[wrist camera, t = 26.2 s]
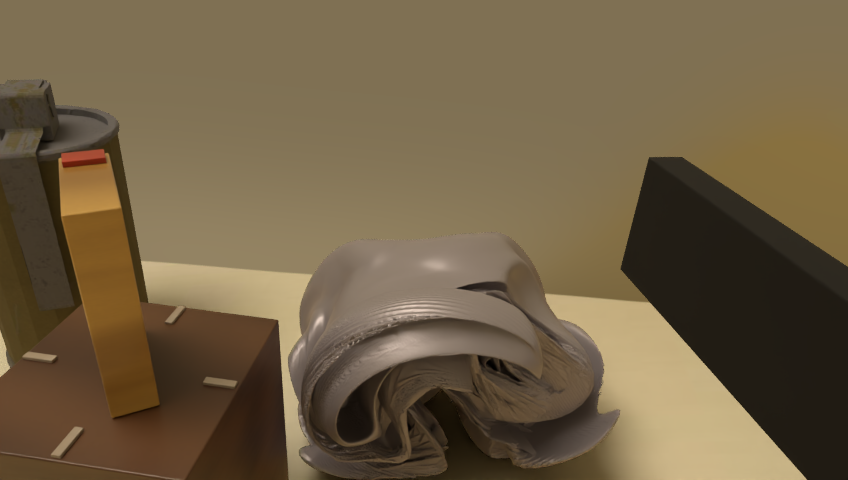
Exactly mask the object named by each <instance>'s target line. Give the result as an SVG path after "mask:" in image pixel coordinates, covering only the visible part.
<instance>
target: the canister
mask: <svg viewBox="0 0 848 480" xmlns="http://www.w3.org/2000/svg"><path fill="white" fill-rule="evenodd" d="M118 132H119V123H118V121H117V120H116V119H115V118H114V117H113V116H112V115H110V114H109V113H106V112H103V111H100V110H98V109H91V108H83V107H75V106H66V105H55V103H54V98H53V94H52V90H51V85H50V83H47V81H46V80H11V81H10V80H8V81H7V82H6V83H5V84H0V330H1V333H2V336H3V339H4V342H5V345H6V348H7V350H6V356H7V361H8V364H9V366H10V367H13V366H14V365H15V364H16V363H17V362H18V361H19V360H20V359H21V358H23V357H22V356H23V355H24V354H26V353H27V352H29V351H30V350H31V349H33V348H34V347H35V346H36V345H37V344H38V343H39V342H40V341H41V340H43V339H44V338H45V337H46V336H47V335H48V334H49V333H50V332H51V331H53V330H54V329H55V328H56V327H57V326H58V325H59V324H60V323H61V322H63V321H64V320H65V319H66V318H67V317H68V316H69V315H70V314H72V313H73V312H74V311H75V310H76V309H77V308H78V307H79V306H80V305H82V304H83V303H82V299H81V295H80V291H79V287H78V283H77V279H76V275H75V271H74V267H73V263H72V259H71V255H70V251H69V247H68V243H67V239H66V235H65V231H64V227H63V223H62V219H61V207H60V185H59V163H58V159H59V158H61V153H70V152H80V151H90V150H99V149H104V152H105V153H108V154H109V156H110V160H111V165H112V169H113V173H114V178H115V182H116V186H117V190H118V195H119V199H120V203H121V208H122V213H123V218H124V223H125V228H126V233H127V238H128V243H129V248H130V253H131V259H132V264H133V269H134V274H135V279H136V284H137V289H138V294H139V299H140V302H145V303H148V298H147V292H146V287H145V281H144V276H143V270H142V265H141V259H140V254H139V248H138V243H137V238H136V232H135V227H134V222H133V216H132V210H131V205H130V199H129V194H128V188H127V183H126V177H125V172H124V167H123V161H122V156H121V151H120V145H119V139H118Z"/></svg>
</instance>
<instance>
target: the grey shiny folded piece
mask: <svg viewBox="0 0 848 480" xmlns="http://www.w3.org/2000/svg"><path fill="white" fill-rule="evenodd" d="M300 328H301V334H302V336H301V337H300V338H299V340H298V341H297V342H296V344H295V345H294V347H293V348H292V350H291V352H290V354H289V356H288V366H289V372H290V377H291V381H292V384H293V388H294V391H295V393H296V396H297V399H298V401H299V405H298V416H299V422H300V426H301V429H302V431H303V433H304V435H305V437H306V438H307V440H308V441H309V443H310V446H305V447H303V448H301V449H300V451H299V455H300V457H301V458H302V459H303V461H304V462H305V463H307V464H308V465H309V466H311V467H313V468H315V469H317V470H319V471H322V472H324V473H327V474H330V475H335V476H338V477H343V478H348V479H358V480H359V479H366V480H367V479H369V480H372V479H384V478H387V479H391V478H398V479H401V478H409V477H410V479H412V478H415V477H416V476H420V477H421V476H422V477H423V476H424V477H425V476H426V477H428V476H429V475H431V476H432V475H437V474H439V473H441V472H443V471H445V470H446V469H447V467H448V465H447V462H446V459H445V455H444V451H446V450H447V448H448V446H445V445H446V444H447V439H446V437H445V434H444V431H443V430H442V428H441V427H440V425H439V423H438V421H437V420H436V418H435V417H434V416H433V415H432V413H431V412H430V411H429V410H428V409H427V408H426V407H425V405H424V404H423V403H425V402H427V401H428V400H430V399H431V398H432V397H434V396H435V395H436V394H437V393H438V392H439V391H440V390H441V389H442V390H443V391H444V392H445V393H446V394H447V395H448V397H449V399H450V400H451V403H453V402H454V403H455V405H456V410H457V412H458V415H459V417H460V420H461V423H462V424H463V426H464V428H465V430H466V432H467V433H468V435H469V436H470V438H471V440H472V441H473V442H474V443H475V445H476V446H477V447H478V448H479V449H480V450H481V451H482V452H484V453H485V454H486V455H488V456H490V457H492V458H496V459H498V458H510V459H511V461H512V464H513V465H516V466H520V467H522V468H533V469H535V468H540V467H542V468H543V467H547V466H552V465H555V464H559V463H562V462H566V461H569V460H571V459H574V458H576V457H579V456H581V455H583V454H585V453H587V452H589V451H590V450H592V449H593V448H594V447H596V446H597V445H598V444H599V443H600V442H601V441H603V439H604V438H605V437H606V436H607V435H608V434H609V432H610V431H611V430H612V428H613V427H614V425H615V423H616V421H617V419H618V417H619V415H620V410H617V409H616V410H613V411H610V412H607V413H604V414H599V413H598V412H597V405H598V404H597V403H598V402H597V400H598V396H599V394H598V393H599V391H600V390H599V389H600V388H601V386H602V384H603V383H602V377H603V373H604V372H603V371H604V369H603V365H604V364H603V360H602V356H601V353H600V352H599V350H598V347H597V345H596V344H595V343H594V341H593V340H592V339H591V337H590V336H589V335H588V334H587V333H586V332H585V331H584V330H583V329H581V328H580V327H579V326H577V325H575V324H573V323H571V322H568V321H565V320H560V319H557V317H556V316H555V315H554V313H553V312H552V310H551V309H550V307H549V305H548V304H547V302H546V298H545V293H544V289H543V286H542V283H541V280H540V277H539V275H538V273H537V271H536V268H535V266H534V265H533V263H532V261H531V260H530V258H529V257H528V255H527V254H526V253H525V252H524V250H523V249H522V248H521V247H520V246H519V245H518V244H517V243H516V242H515V241H514V240H512V239H511V238H510V237H508V236H506V235H504V234H502V233H496V232H485V233H469V234H455V235H448V236H441V237H435V238H428V239H416V240H376V239H360V240H354V241H350V242H348V243H345V244H343V245H342V246H340V247H338V248H337V249H335V250H334V251H333V252H332V253H330V255H328V256H327V257H326V259H324V261H323V262H322V263H321V264H320V266H319V267H318V268H317V270H316V271H315V273H314V274H313V276H312V278H311V279H310V281H309V283H308V285H307V288H306V290H305V292H304V295H303V298H302V301H301V306H300ZM601 383H602V384H601ZM601 390H602V389H601ZM600 393H601V392H600ZM414 474H415V475H414ZM411 477H412V478H411Z"/></svg>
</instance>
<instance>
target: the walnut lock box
mask: <svg viewBox="0 0 848 480" xmlns="http://www.w3.org/2000/svg"><path fill="white" fill-rule="evenodd" d="M140 305H141V310H142V315H143V320H144V325H145V330H146V335H147V340H148V345H149V351H150V356H151V361H152V366H153V371H154V376H155V381H156V386H157V391H158V397H159V402H160V404H159V405H158V406H154V407H151V408H147V409H144V410H140V411H136V412H133V413H129V414H126V415H122V416H119V417H115V418H112V417H111V414H110V410H109V406H108V402H107V398H106V394H105V390H104V386H103V382H102V378H101V374H100V370H99V366H98V363H97V359H96V355H95V351H94V347H93V343H92V339H91V335H90V331H89V327H88V323H87V319H86V315H85V311H84V307H83V304H82V305H80V306H79V307H78V308H77V309H76V310H75V311H74V312H73V313H72V314H70V315H69V316H68V317H67V318H66V319H65V320H64V321H63V322H61V323H60V324H59V325H58V326H57V327H56V328H55V329H54V330H53V331H51V332H50V333H49V334H48V335H47V336H46V337H45V338H44V339H43V340H41V341H40V342H39V343H38V344H37V345H36V346H35V347H34V348H33V349H31V350H30V351H29V352H27V353H26V354H24V355H23V356H22V357H23V358H21V359H20V360H19V361H18V362H17V363H16V364H15V365H14V366H13V367H11V368H10V369H9V370H8V371H7V372H6V373H5V374H4V375H3V376H1V377H0V480H288V464H287V449H286V433H285V418H284V402H283V387H282V371H281V356H280V340H279V324H278V320H274V319H267V318H259V317H251V316H244V315H236V314H228V313H221V312H213V311H206V310H198V309H190V308H185V306H178V307H175V306H168V305H160V304H152V303H145V302H140Z"/></svg>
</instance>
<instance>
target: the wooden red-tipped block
mask: <svg viewBox="0 0 848 480" xmlns="http://www.w3.org/2000/svg"><path fill="white" fill-rule="evenodd" d="M58 163H59V185H60V207H61V219H62V223H63V227H64V231H65V235H66V239H67V243H68V247H69V251H70V255H71V259H72V263H73V267H74V271H75V275H76V279H77V283H78V287H79V291H80V295H81V299H82V303H83V307H84V311H85V315H86V319H87V323H88V327H89V331H90V335H91V339H92V343H93V347H94V351H95V355H96V359H97V363H98V366H99V370H100V374H101V378H102V382H103V386H104V390H105V394H106V398H107V402H108V406H109V410H110V414H111V417H112V418H115V417H119V416H122V415H126V414H129V413H133V412H136V411H140V410H144V409H147V408H151V407H154V406H158V405H159V404H160V402H159V397H158V391H157V386H156V381H155V376H154V371H153V366H152V361H151V356H150V351H149V345H148V340H147V335H146V330H145V325H144V320H143V315H142V310H141V305H140V299H139V294H138V289H137V284H136V279H135V274H134V269H133V264H132V259H131V253H130V248H129V243H128V238H127V233H126V228H125V223H124V218H123V213H122V208H121V203H120V199H119V195H118V190H117V186H116V182H115V178H114V173H113V169H112V165H111V160H110V156H109V154H108V153H105V152H104V149H99V150H90V151H80V152H70V153H61V158H59V159H58Z"/></svg>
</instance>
